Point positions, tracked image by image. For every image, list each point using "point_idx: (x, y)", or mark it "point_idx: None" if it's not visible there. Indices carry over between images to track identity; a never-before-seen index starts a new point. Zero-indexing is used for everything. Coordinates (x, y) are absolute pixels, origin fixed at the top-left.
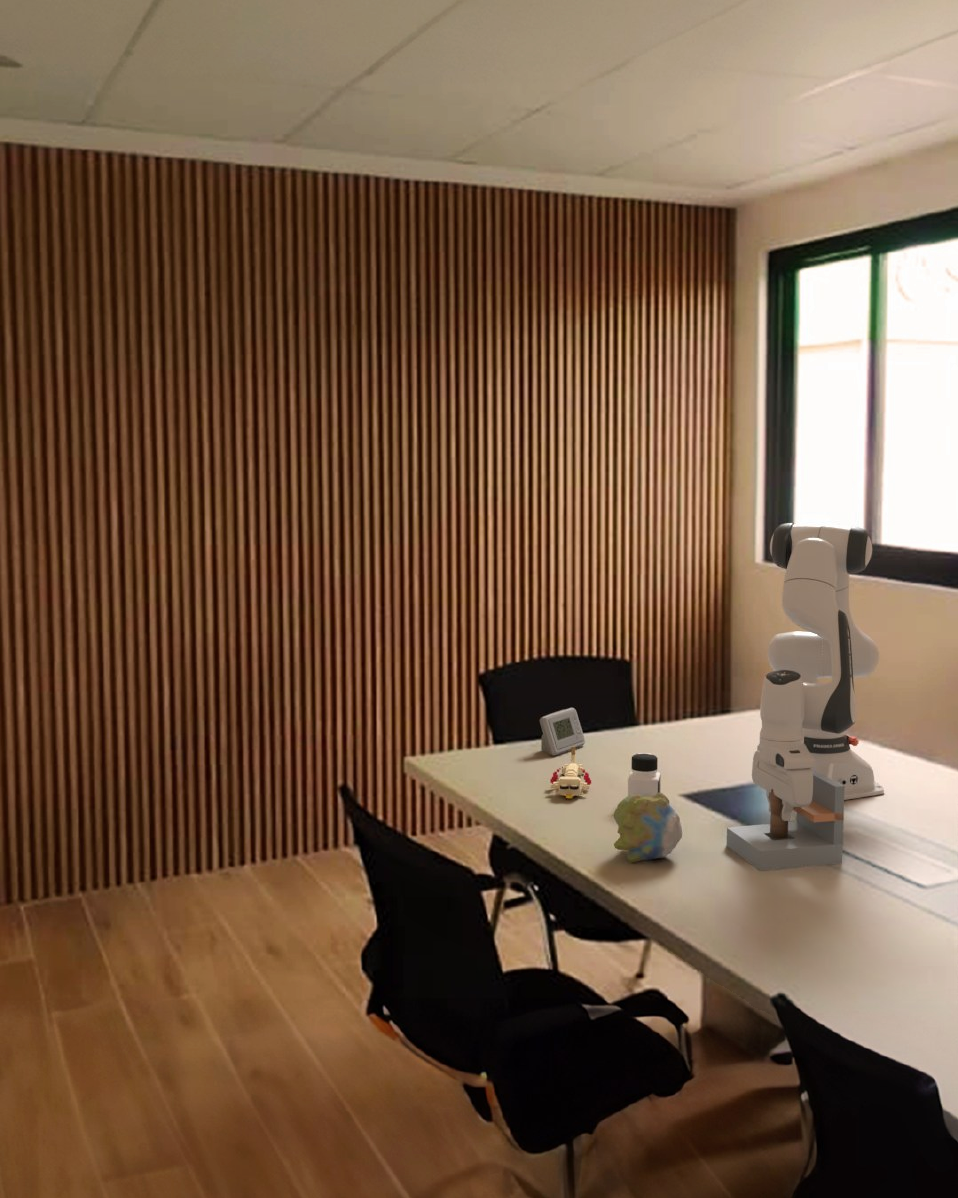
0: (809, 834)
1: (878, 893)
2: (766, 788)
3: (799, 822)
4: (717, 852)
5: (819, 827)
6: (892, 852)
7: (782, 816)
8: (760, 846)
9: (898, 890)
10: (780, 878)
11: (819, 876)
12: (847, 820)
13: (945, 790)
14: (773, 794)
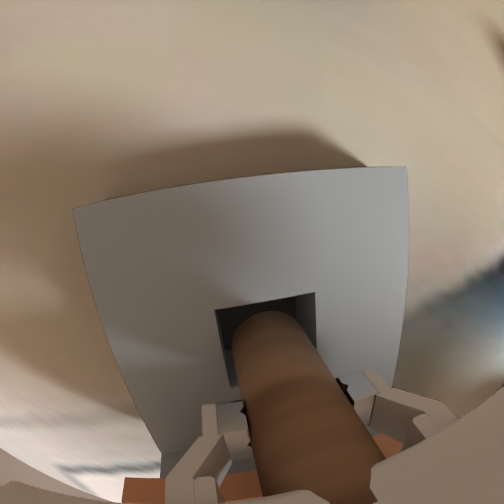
0: None
1: (10, 407)
2: (443, 445)
3: None
4: (313, 111)
5: (254, 465)
6: None
7: (209, 415)
8: (132, 226)
9: (35, 438)
10: (42, 247)
11: (69, 355)
12: None
13: None
14: (318, 486)
